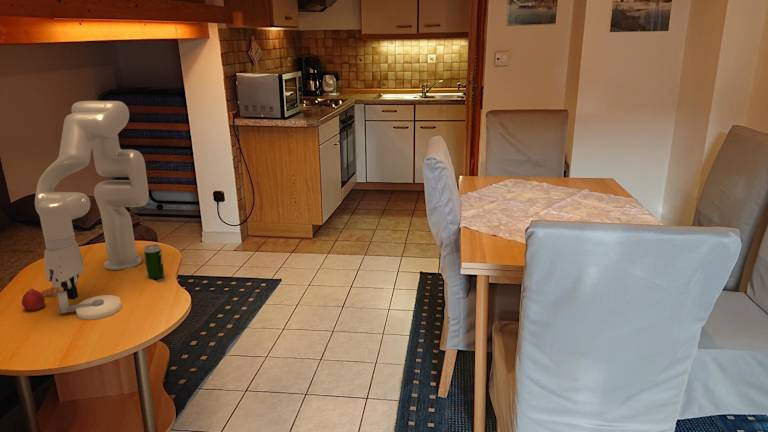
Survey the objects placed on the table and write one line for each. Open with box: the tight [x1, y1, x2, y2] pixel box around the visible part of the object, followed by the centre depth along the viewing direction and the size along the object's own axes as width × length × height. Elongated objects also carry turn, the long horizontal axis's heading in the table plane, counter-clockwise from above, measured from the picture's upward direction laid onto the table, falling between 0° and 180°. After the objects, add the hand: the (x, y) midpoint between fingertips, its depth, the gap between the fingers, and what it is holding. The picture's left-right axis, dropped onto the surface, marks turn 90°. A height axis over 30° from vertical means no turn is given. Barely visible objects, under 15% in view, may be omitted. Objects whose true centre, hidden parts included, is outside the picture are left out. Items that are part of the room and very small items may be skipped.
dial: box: [57, 291, 122, 321], centre depth 162 cm, size 16×12×7 cm
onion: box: [21, 287, 46, 312], centre depth 164 cm, size 6×6×8 cm
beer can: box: [143, 243, 165, 283], centre depth 186 cm, size 5×5×12 cm
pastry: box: [39, 286, 64, 299], centre depth 174 cm, size 9×7×4 cm
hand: (72, 298), depth 164 cm, fingers closed
